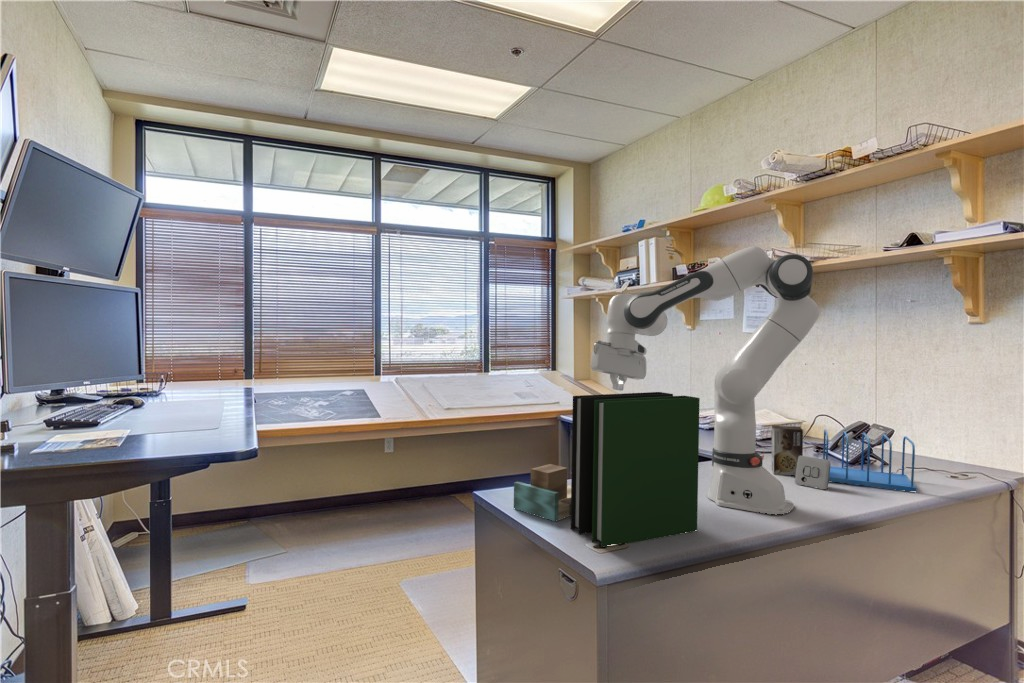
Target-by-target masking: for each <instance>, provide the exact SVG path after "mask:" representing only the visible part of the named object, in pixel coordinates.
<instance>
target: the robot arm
mask: <svg viewBox="0 0 1024 683" xmlns="http://www.w3.org/2000/svg"><path fill="white" fill-rule="evenodd" d="M813 280H814V267H813V265H812V264H811V262H810V260H809V259H807V258H806V257H804V256H802V255H800V254H795V253H794V254H793V253H792V254H791V253H788V254H784V255H782V256H780V257H778V258H777V259H772V258H771V257H769V255H768V254H767V251H765V250H764V249H762V247H759V246H756V245H755V246H754V245H751V246H748V247H745V248H742V249H739V250H737V251H734V252H733V253H730V254H728V255H725V256H723V257H722V258H721V259H719V260H717V261H715V262H713V263H711V264H709V265H708V266H706V267H703V268H702V269H700V270H697V271H695V272H693V273H690V274H689V275H686V276H684V277H682V278H680V279H679V278H678V279H677V280H675V281H673V282H671V283H669V284H666V285H664V286H663V287H660V288H657V289H656V290H653V291H648V292H647V291H646V292H640V293H637V294H632V293H626V292H624V293H623V292H622V293H618V294H615V295H613V296H612V298H610V300H609V301H608V306H607V312H606V325H607V330H606V333H605V341H602V340H597V341H596V342H595V343H594V344H593V349H592V352H591V353H592V354H591V359H590V360H591V361H590V368H591V371H594V372H598V373H603V374H608V375H609V379H610V382H611V384H612V390H614V391H619V392H621V391H624V387H625V386H624V385H625V384H626V382H627V380H628V379H631V380H644V379H645V378H646V376H647V358H646V356H645V355H647V348H646V347H645V346H644V345H642V344H641V343H640V342H638V341H637V340H636V335H641V336H648V337H656V336H658V335H660V334H662V333H663V332H664V331H665V329H666V328H667V326H668V317H667V314H666V313H665V312H666V311H668V310H669V309H672V308H674V307H676V306H678V305H680V304H682V303H684V302H687V301H690V300H692V299H696V298H697V299H699V298H700V299H701V298H702V299H706V300H707V299H708V300H711V301H715V302H716V301H717V302H719V301H722V300H725V299H728V298H730V297H733V296H735V295H738V294H739V293H740V292H742V291H744V290H746V289H748V288H751V287H752V286H755V285H759V286H760V287H761V288H762V289H764V290H765V291H766V292H767V293H768V294H769V295H770V296H772V297H773V298H775V299H777V303H776V305H775V306H774V308H773V309H772V311H770V313H769V314H768V315H767V317H766V318H765V319H764V320H763V321H762V322H761V323H760V325H759V326H758V327H757V328H756V329H755V330H754V331H753V332H752V333H751V335H750V336H749V337H748V338H747V339H746V341H745V342H744V343H743V344H742V346H741V347H740V348H739V349H738V351H737V352H736V354H735V355H734V356H733V357H732V359H730V361H729V362H728V363H726V364H724V365H723V366H721V367H719V369H718V370H717V371H716V373H715V375H714V379H713V380H714V384H713V386H714V387H713V389H714V391H713V392H714V393H713V394H714V395H713V396H714V397H713V398H714V400H713V401H714V406H713V408H714V410H713V411H714V432H713V434H714V436H713V437H714V440H713V441H714V442H713V447H712V450H711V451H712V453H711V463H712V464H711V466H712V475H711V480H710V484H709V489H708V492H707V494H706V496H707V498H708V499H710V500H711V501H713V502H715V504H716V505H718V506H719V507H725V508H732V509H735V510H744V511H748V512H754V513H759V512H760V514H765V513H767V514H766V515H771V514H775V515H774V516H778V515H777V514H783V515H785V514H784V513H787V512H789V511H791V510H792V509H793V508H794V509H795V504H794V502H793V501H792V500H789V499H786V492H785V489H784V486H783V483H782V482H781V481H780V480H779V479H777V477H776V476H774V474H773V473H772V472H769V471H768V470H767V469H766V468H765V467H764V466H763V461H764V460H765V455H764V454H763V455H761V454H760V453H759V452H757V451H756V449H757V448H756V445H757V444H756V442H757V440H756V439H757V438H756V437H757V422H756V421H757V419H756V408H755V407H756V404H755V398H756V397H757V396H758V394H759V393H760V392H761V391H762V390H763V388H764V387H765V386H766V384H768V382H769V381H770V379H771V378H772V376H773V375H774V374H775V372H776V371H777V370H778V368H779V367H780V366H781V365H782V364H783V363H784V361H785V360H786V359H787V358H788V357H789V355H791V353H792V352H793V351H794V350H795V349H796V348H797V347H798V346H799V344H800V343H801V342H802V341H803V340H804V339H805V338H806V337H807V335H808V334H809V332H810V331H811V330H812V328H813V327H814V325H815V323H816V322H817V320H818V319H819V317H820V313H821V312H820V311H821V310H820V307H819V306H818V303H816V301H815V300H814V299H812V298H811V297H810V296H809V295H810V294H811V289H812V286H813V285H812V284H813ZM618 380H619V381H618ZM794 509H793V510H794ZM793 510H792V511H793ZM792 511H791V512H792ZM789 513H790V512H789ZM787 514H788V513H787Z"/></svg>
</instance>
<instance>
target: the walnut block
mask: <svg viewBox="0 0 1024 683" xmlns="http://www.w3.org/2000/svg"><path fill="white" fill-rule="evenodd" d="M530 485H533V486H536V487H540V488H544V489H548V490H551V491H555V492H559V500H562V499H564V498H567V485H568V467H565V466H561V465H556V464H552V463H549V464H544V465H542V466H540V465H539V466H537V467H533V468H530Z"/></svg>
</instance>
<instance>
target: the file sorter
mask: <svg viewBox="0 0 1024 683" xmlns="http://www.w3.org/2000/svg"><path fill="white" fill-rule="evenodd" d="M845 438H846V453H845ZM865 439H866V440H867V455H866V456H867V464H866V469H864V452H865V451H864V448H865V446H864V445H865ZM841 440H842V442H841V446H842V447H841V466H830V474H829V481H832V482H831V483H833V482H841V483H840V484H844V483H850V484H849V485H852V484H858V485H857V486H860V485H865V486H864V487H868V486H872V487H871V488H876V487H879V488H878V489H884V488H887V489H886V490H892V489H896V490H895V491H899V490H905V491H904V492H907V491H916V492H917V487H916V485H915V484H914V481H915V479H914V477H915V458H916V455H915V454H916V449H915V448H916V447H915V442H913V440H911V438H909V437H908V436H903V438H902V452H901V453H902V455H901V457H902V458H901V473H893V472H892V458H893V456H892V455H893V446H892V445H893V444H892V440H891V439H890V438H889V437H888V436H887V435H886V434H882V436H881V457H880V459H881V460H880V462H881V464H880V466H881V467H880V468H881V469H880V471H876V470H870V460H871V459H870V458H871V456H870V455H871V441H870V438H869V436H868V435H867V433H865V432H862V436H861V459H860V460H861V462H860V464H861V465H860V469H859V468H858V469H857V468H850V467H849V447H850V446H849V444H850V442H849V440H850V439H849V435H848V433H847V432H846V431H845V430H843V431H842V439H841ZM885 440H887V441H888V445H889V446H888V447H889V453H888V454H889V455H888V457H889V459H888V472H884V451H885V450H884V448H885V446H884V445H885ZM906 441H908V442H909V443H910V444H911V448H912V450H911V451H912V455H911V474H910V478H909V476H908V475H907V474H905V453H906V451H905V450H906V449H905V448H906ZM845 454H846V456H845ZM844 456H845V457H844ZM845 458H846V459H845ZM822 459H825V460H829V433H828V430H827V428H826V429H824V430H823V452H822ZM844 461H845V462H844ZM844 463H845V465H844ZM844 466H845V467H844Z"/></svg>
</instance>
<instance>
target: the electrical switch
mask: <svg viewBox="0 0 1024 683" xmlns="http://www.w3.org/2000/svg"><path fill="white" fill-rule="evenodd" d="M830 466H831V460H829V459H828V460H826V458H825V459H823V458H818V457H811V456H805V455H803V456H799V457H798V462H797V469H796V476H794V477H795V479H794V482H795V484H796V485H797V484H799V485H798V486H802V485H805V486H804V487H807V486H811V487H810V488H812V487H817V488H821V489H826V490H827V489H828V488H827V487H829V483H830V482H829V474H830ZM817 488H816V489H817ZM821 489H820V490H821Z"/></svg>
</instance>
